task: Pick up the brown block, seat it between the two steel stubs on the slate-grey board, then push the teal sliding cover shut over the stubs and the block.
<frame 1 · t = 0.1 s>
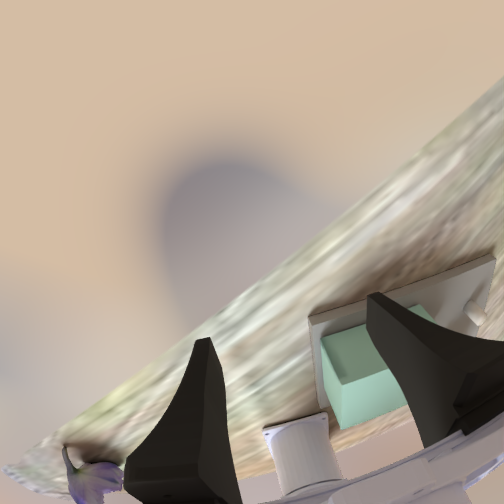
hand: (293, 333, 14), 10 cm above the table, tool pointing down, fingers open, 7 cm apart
flower: (90, 459, 35), on the table
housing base: (408, 332, 30), on the table
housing: (383, 368, 26), point 4 cm above the table, slide at 0.0 cm
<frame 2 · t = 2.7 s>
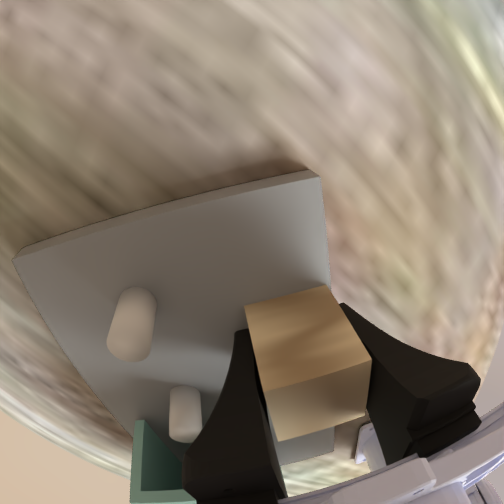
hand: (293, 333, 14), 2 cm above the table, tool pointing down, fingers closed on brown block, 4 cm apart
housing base: (216, 385, 17), on the table
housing: (222, 485, 16), point 4 cm above the table, slide at 0.0 cm
brown block: (290, 326, 14), point 1 cm above the table, touching gripper, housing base
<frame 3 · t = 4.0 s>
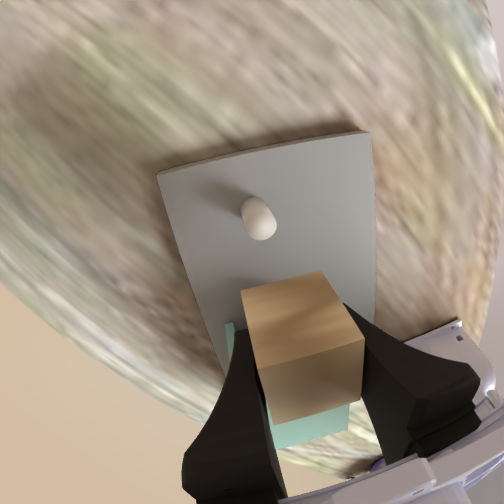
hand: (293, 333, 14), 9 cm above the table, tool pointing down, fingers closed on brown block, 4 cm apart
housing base: (289, 292, 24), on the table
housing: (291, 383, 22), point 4 cm above the table, slide at 0.0 cm
brown block: (286, 312, 15), point 8 cm above the table, touching gripper
when the fingers open (3 cm above the table, at t = 5.2 s): brown block stays where it is, resting on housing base.
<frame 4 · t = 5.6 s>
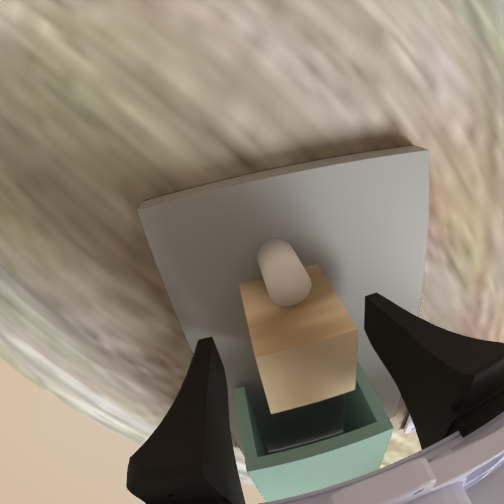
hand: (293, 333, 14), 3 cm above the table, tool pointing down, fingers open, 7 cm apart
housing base: (313, 346, 18), on the table
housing: (312, 449, 17), point 4 cm above the table, slide at 0.0 cm
brown block: (283, 305, 15), point 1 cm above the table, touching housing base
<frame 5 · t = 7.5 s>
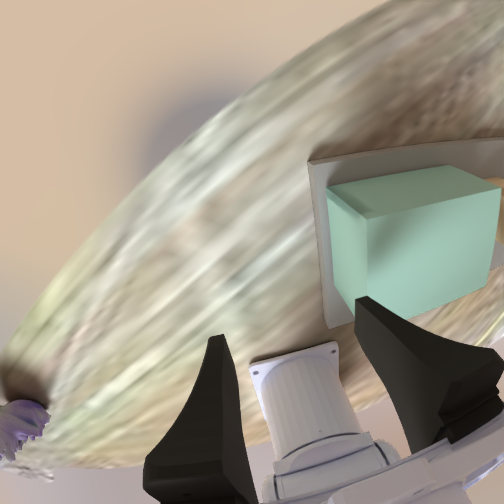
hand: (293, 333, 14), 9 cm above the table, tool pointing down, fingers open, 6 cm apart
flower: (15, 398, 26), on the table
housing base: (437, 220, 23), on the table
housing: (416, 239, 18), point 4 cm above the table, slide at 0.0 cm
brown block: (484, 199, 21), point 1 cm above the table, touching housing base
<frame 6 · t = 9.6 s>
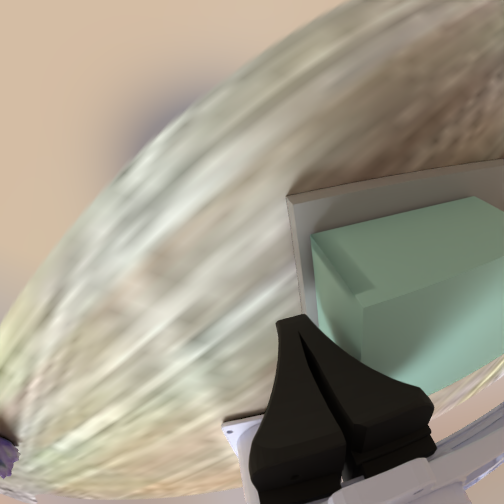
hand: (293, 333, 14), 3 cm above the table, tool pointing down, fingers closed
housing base: (453, 261, 18), on the table
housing: (430, 302, 13), point 4 cm above the table, slide at 0.0 cm, touching gripper
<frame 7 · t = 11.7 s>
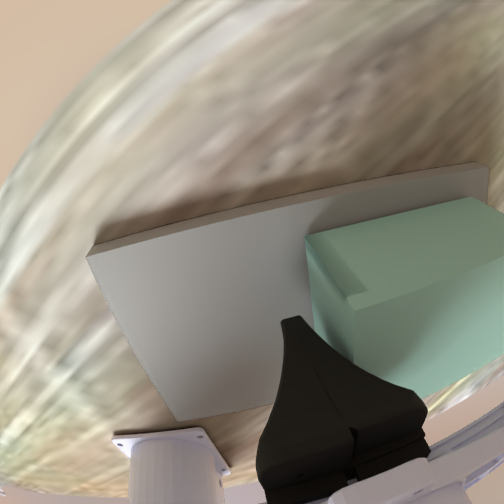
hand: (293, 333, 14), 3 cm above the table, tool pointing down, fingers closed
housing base: (324, 301, 18), on the table
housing: (426, 304, 13), point 4 cm above the table, slide at 9.2 cm, touching gripper
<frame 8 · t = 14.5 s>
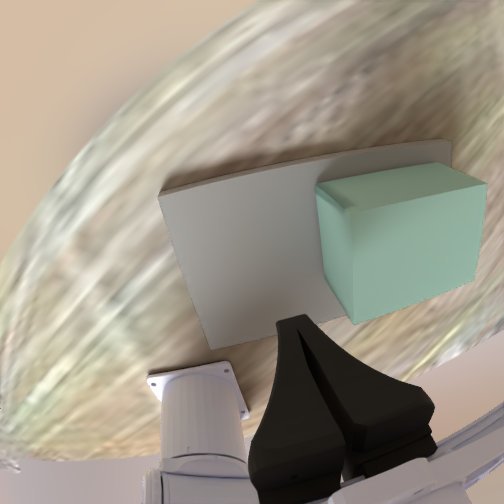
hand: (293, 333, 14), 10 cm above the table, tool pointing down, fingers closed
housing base: (329, 241, 23), on the table
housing: (404, 234, 19), point 4 cm above the table, slide at 9.1 cm
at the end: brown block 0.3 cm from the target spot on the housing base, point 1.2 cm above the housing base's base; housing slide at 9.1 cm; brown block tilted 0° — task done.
